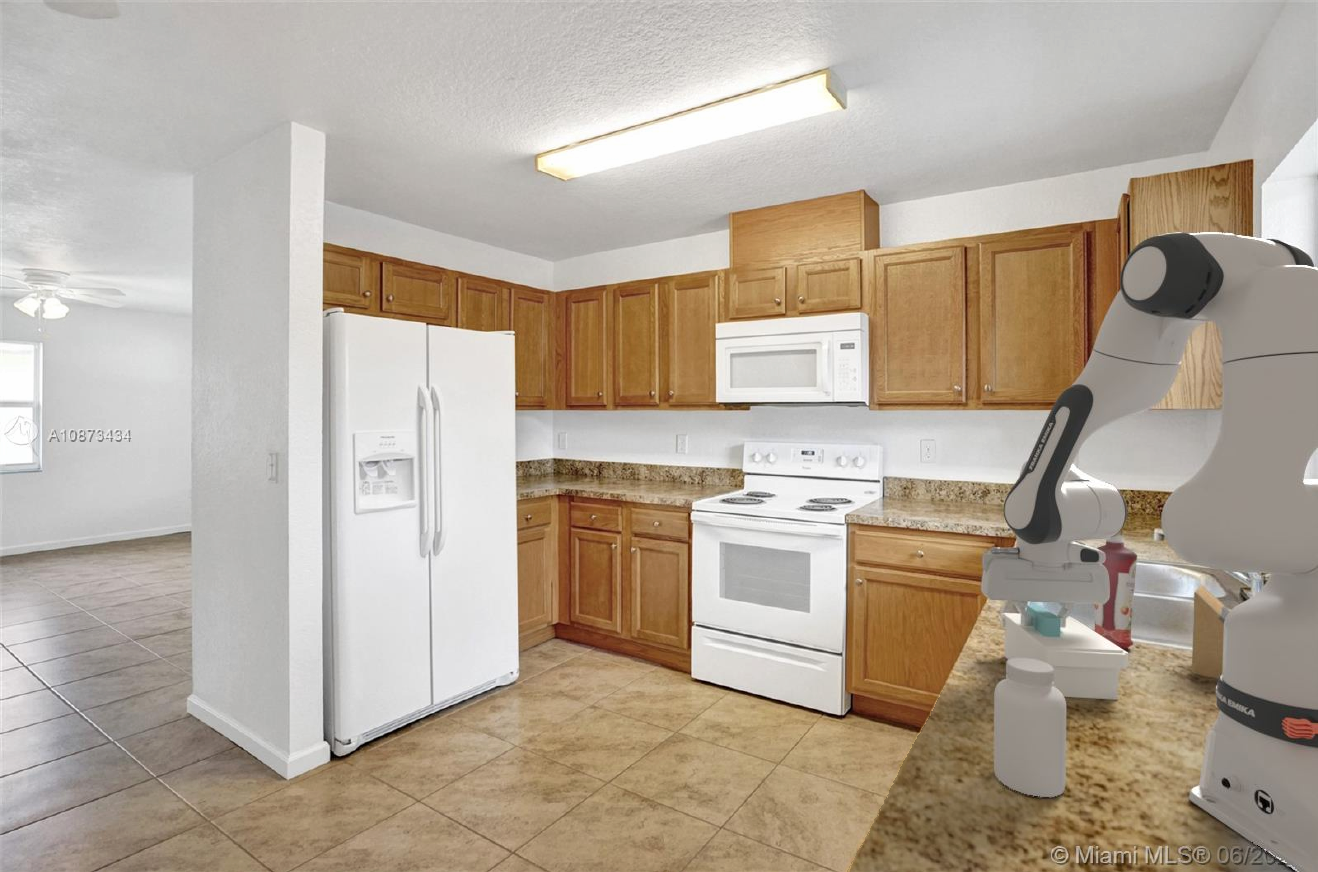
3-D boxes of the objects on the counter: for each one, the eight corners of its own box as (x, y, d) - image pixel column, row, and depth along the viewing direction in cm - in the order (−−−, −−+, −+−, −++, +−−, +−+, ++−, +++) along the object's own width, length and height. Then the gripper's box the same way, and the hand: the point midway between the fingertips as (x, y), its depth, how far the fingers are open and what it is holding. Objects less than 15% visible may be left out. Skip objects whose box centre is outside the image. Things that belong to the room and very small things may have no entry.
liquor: (1128, 655, 129) (1132, 511, 128) (1085, 645, 134) (1088, 507, 133) (1139, 647, 133) (1142, 507, 133) (1096, 637, 139) (1100, 503, 138)
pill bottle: (1000, 758, 90) (1003, 648, 89) (1070, 779, 85) (1073, 663, 84) (985, 784, 84) (988, 666, 83) (1059, 808, 79) (1062, 682, 78)
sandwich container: (1310, 700, 109) (1313, 609, 109) (1191, 674, 120) (1193, 591, 120) (1311, 685, 115) (1314, 599, 115) (1197, 661, 126) (1200, 583, 126)
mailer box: (1117, 699, 109) (1119, 656, 108) (1045, 695, 110) (1046, 652, 110) (1066, 659, 127) (1067, 621, 126) (1004, 656, 128) (1005, 619, 128)
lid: (1130, 669, 107) (1131, 632, 107) (1047, 665, 109) (1047, 628, 109) (1070, 629, 127) (1071, 597, 127) (1000, 625, 129) (1001, 595, 129)
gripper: (988, 550, 116) (987, 628, 117) (1116, 554, 113) (1113, 634, 114) (976, 543, 123) (975, 617, 123) (1096, 546, 120) (1095, 623, 120)
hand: (1042, 626), depth 118 cm, fingers open, 4 cm apart
